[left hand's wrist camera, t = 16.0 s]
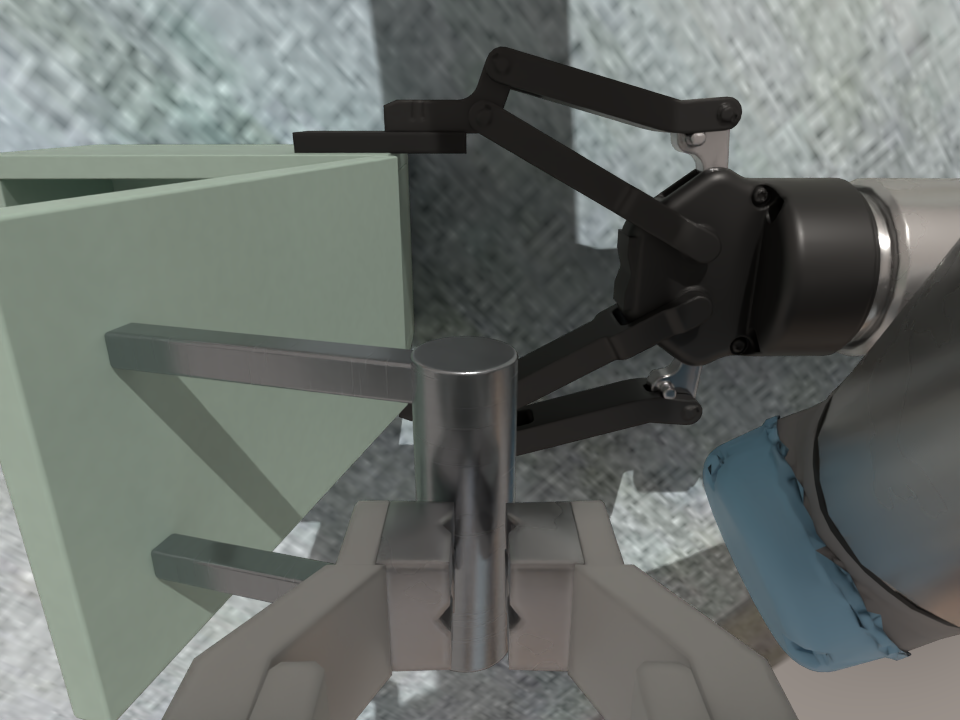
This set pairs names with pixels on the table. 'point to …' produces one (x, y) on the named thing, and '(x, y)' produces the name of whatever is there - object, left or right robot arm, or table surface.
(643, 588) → the left robot arm
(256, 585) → the lid
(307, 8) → the table surface
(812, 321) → the right robot arm
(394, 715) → the table surface
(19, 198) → the chest
